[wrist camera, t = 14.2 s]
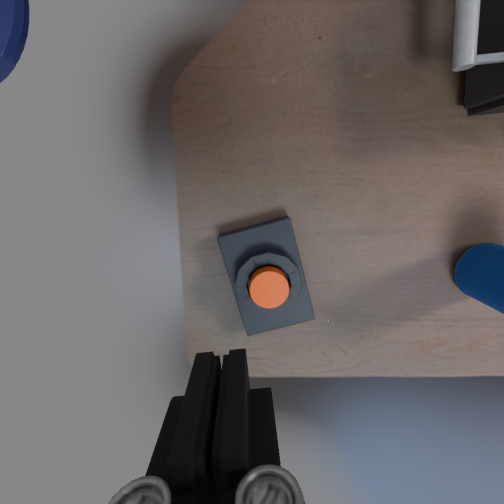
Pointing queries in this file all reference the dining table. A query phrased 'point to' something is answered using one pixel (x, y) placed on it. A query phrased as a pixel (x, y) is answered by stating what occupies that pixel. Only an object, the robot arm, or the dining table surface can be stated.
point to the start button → (269, 287)
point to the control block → (261, 255)
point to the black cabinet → (488, 108)
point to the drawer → (480, 49)
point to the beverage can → (483, 274)
